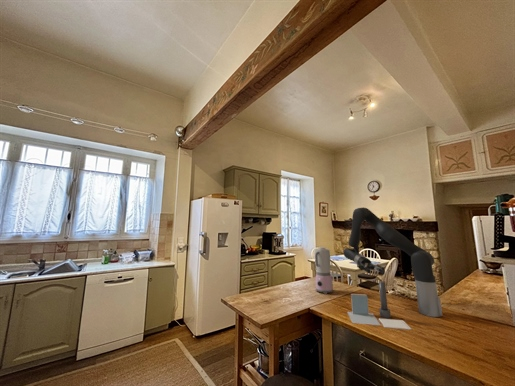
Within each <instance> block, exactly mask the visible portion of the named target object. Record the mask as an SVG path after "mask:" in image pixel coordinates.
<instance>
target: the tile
mask: <svg viewBox="0 0 515 386" xmlns="http://www.w3.org/2000/svg"><path fill="white" fill-rule="evenodd" d="M350 300H351V312H352V313H353V314H360V315H369V313H370V311H369V302H368V295H367V294H364V293H362V294H361V293H350Z"/></svg>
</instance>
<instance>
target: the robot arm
mask: <svg viewBox="0 0 515 386" xmlns="http://www.w3.org/2000/svg"><path fill="white" fill-rule="evenodd" d="M351 221H352V222H351V232H350V236H349V239H348V246H349V247H351V248H348V247H347V248H345V249H344V250H343V252H342V253H343V256H344V258H346V259H347V260H349V261H351V262H354V263H355V264H356V267H357V268H358V269H359V270H360V271H363V272H366V273H367V274H371V271H372V272H378V273H380V274H382V276H383V275H386V274H385V273H386V270H384V269H385V267H382V266H381V265H380V264H374V263H373V262H372V261H371V260H370V259H369V258H368V257H367V256H365V255H363V254H361V253H360V249H359V248H360V247H359V246H360V242H361V237H362V236H361V235H362V234H361V227H362V223H363V222H364V221H365V222H366V223H368V224H369V225H371V226H372V227H373V228H374V230H375V231H376V233H377V234H378V236H379V237H381V238H382V239H383V240H384V241H386V242H387V243H388V244H390V245H392V246H393V247H396V248H397V249H400V250H401V251H403V252H405V253H406V254H407V255H408V256H409V257H410V263H411V269H412V270H411V271H412V274H413V276H414V282H415V291H416V299H417V307H418V309H417V310H418V312H419V313H420V314H422V315H424V316H427V317H434V318H439V317H443V310H442V304H441V297H440V296H438V295H439V294H438V288H437V287H438V286H437V280H436V276H435V274H434V273H433V272H434V269H433V265H434V264H435V258H434V256H433V255H432V254H431V253H430V252H428V251H427V250H425V249H424V248H421V246H419V245H417V244H416V243H414V242H412V241H411V240H409V238H408V237H406V236H405V235H403V234H402V233H400V231H398V230H397V229H395V228H394V227H393V226H391V225H390V224H388V223H387V222H385V221H384V220H383V219H381V218H380V217H378V216H377V215H376V214H375V213H374V212H372V210H371V209H369V208H367V207H357V208H355V209H354V210H353V212H352V219H351Z"/></svg>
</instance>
